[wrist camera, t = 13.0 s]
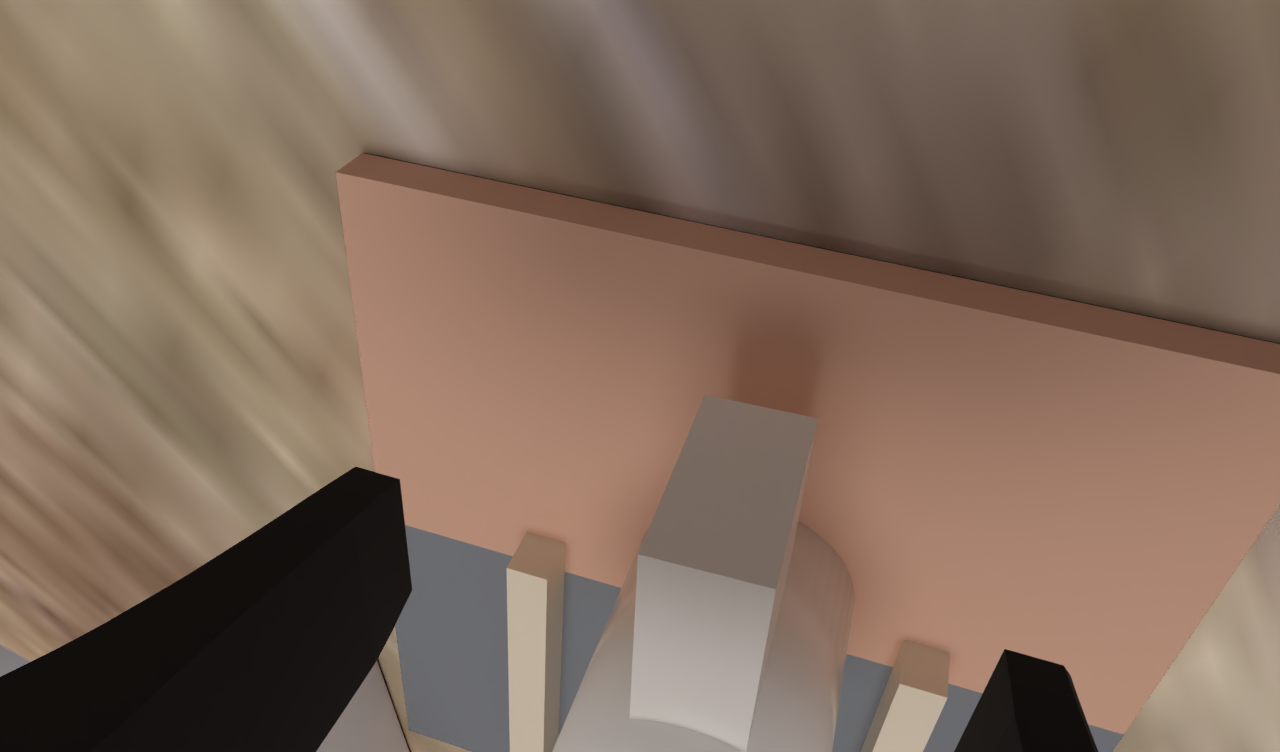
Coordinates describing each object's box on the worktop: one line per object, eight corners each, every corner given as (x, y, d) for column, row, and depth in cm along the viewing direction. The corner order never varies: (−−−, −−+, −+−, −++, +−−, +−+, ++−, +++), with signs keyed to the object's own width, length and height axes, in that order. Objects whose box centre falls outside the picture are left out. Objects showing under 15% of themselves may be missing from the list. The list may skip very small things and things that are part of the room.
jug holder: (1338, 356, 15) (1382, 437, 14) (992, 892, 27) (992, 972, 25) (362, 153, 19) (299, 197, 17) (423, 703, 30) (389, 763, 28)
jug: (827, 708, 23) (785, 965, 18) (632, 653, 24) (545, 883, 19) (913, 383, 17) (883, 639, 12) (649, 330, 18) (529, 548, 13)
